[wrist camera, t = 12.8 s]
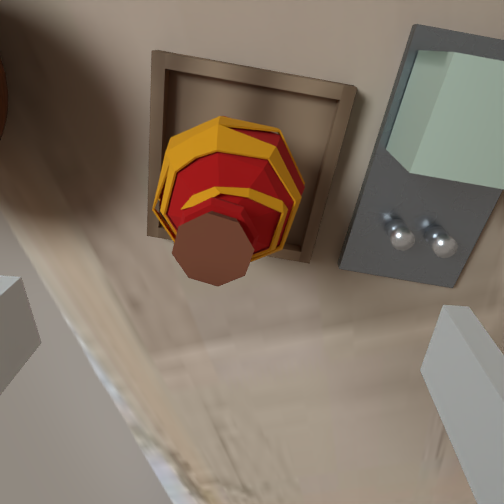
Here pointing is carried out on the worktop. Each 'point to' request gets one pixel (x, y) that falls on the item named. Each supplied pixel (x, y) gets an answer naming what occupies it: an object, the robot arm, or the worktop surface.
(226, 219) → the potion bottle
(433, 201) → the stub plate
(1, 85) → the bowl
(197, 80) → the tray
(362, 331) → the worktop surface
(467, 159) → the block
